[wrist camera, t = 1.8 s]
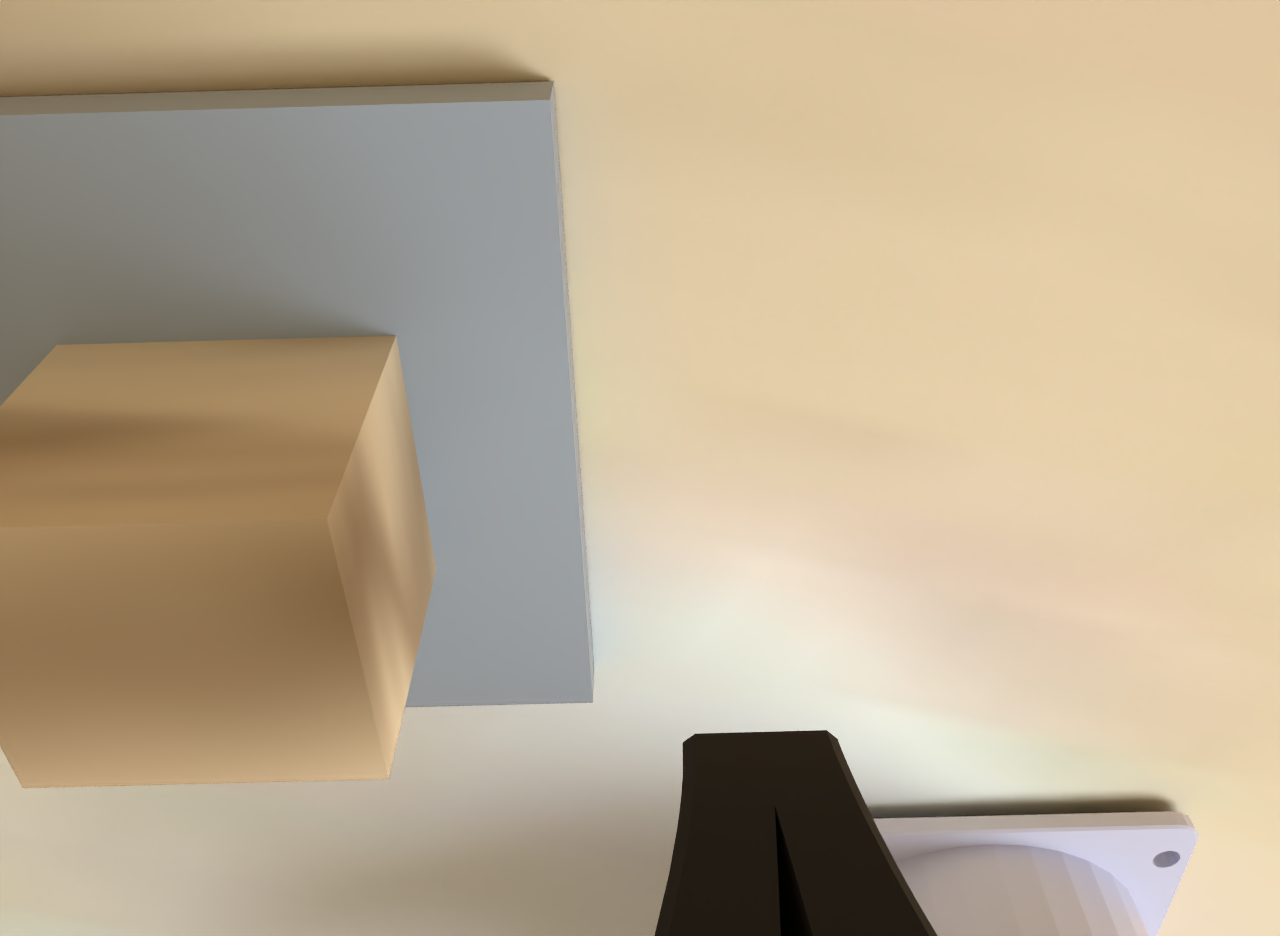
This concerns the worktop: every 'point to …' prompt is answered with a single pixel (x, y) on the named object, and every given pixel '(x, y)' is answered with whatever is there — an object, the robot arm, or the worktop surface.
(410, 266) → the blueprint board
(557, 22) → the worktop surface
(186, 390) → the maple block
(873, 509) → the worktop surface
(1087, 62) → the worktop surface
